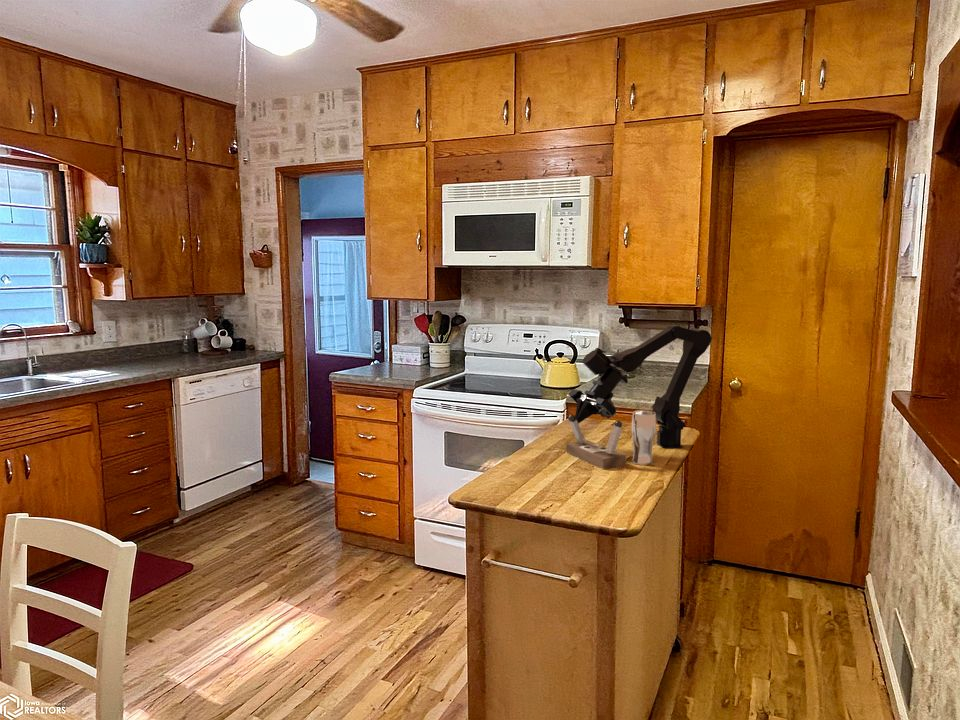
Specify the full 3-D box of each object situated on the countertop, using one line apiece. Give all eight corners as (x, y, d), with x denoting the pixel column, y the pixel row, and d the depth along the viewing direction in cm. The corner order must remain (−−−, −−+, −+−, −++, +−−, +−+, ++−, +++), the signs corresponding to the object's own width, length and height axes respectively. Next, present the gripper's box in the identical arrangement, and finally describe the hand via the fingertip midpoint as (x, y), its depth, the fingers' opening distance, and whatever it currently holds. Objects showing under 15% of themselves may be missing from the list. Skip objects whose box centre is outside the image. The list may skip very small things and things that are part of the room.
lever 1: (582, 438, 203) (570, 412, 200) (586, 440, 201) (575, 414, 198) (576, 442, 203) (565, 416, 200) (581, 444, 200) (570, 418, 197)
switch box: (587, 449, 206) (587, 438, 206) (625, 465, 189) (625, 453, 189) (566, 452, 203) (566, 441, 202) (603, 469, 186) (603, 457, 185)
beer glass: (652, 459, 196) (654, 410, 194) (656, 466, 189) (658, 415, 187) (629, 458, 196) (630, 409, 194) (632, 465, 189) (633, 414, 187)
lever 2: (609, 452, 191) (619, 420, 191) (615, 454, 189) (625, 422, 189) (603, 451, 190) (613, 418, 190) (609, 453, 188) (619, 420, 188)
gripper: (639, 406, 198) (608, 446, 195) (602, 396, 215) (574, 432, 212) (618, 383, 194) (586, 423, 191) (583, 374, 211) (553, 411, 207)
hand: (575, 423), depth 200 cm, fingers closed, pressing on lever 1
